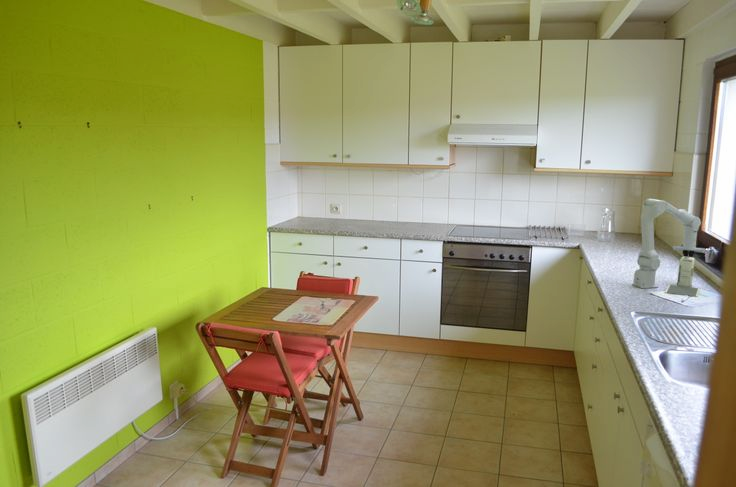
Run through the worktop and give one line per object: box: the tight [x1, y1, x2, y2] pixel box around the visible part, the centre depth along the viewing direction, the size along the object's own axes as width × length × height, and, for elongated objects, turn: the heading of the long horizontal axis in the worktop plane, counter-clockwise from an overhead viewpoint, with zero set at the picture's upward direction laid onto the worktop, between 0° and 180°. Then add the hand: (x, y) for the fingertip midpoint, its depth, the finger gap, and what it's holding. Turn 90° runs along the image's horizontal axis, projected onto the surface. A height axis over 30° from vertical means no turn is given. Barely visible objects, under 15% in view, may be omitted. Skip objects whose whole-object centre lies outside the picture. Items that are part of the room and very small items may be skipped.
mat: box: [664, 284, 701, 298], centre depth 289 cm, size 18×14×1 cm
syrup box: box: [676, 256, 696, 287], centre depth 298 cm, size 6×6×14 cm
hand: (687, 265), depth 303 cm, fingers closed
